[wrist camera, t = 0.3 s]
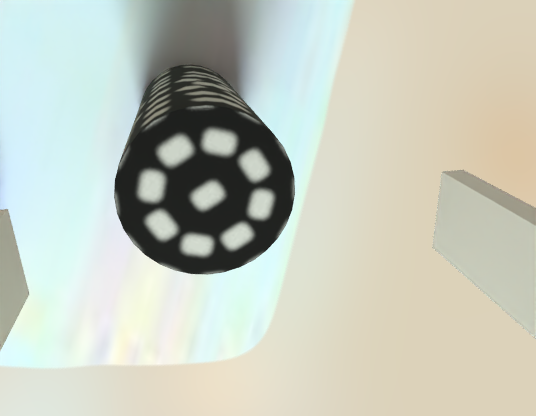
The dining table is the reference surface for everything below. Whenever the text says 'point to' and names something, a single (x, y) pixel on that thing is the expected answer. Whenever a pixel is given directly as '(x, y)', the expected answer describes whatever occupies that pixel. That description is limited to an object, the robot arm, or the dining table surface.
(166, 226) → the white-spotted black cylinder
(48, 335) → the dining table surface
